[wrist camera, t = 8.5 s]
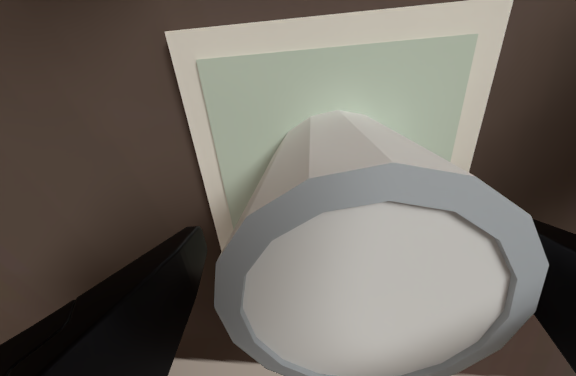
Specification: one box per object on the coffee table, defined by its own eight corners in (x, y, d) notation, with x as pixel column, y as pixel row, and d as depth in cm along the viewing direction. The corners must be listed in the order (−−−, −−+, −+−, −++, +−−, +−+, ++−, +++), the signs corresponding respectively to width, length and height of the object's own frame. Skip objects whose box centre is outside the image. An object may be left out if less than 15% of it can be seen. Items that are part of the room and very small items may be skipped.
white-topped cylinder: (448, 131, 11) (649, 247, 5) (366, 251, 14) (418, 417, 8) (289, 65, 10) (269, 97, 4) (240, 210, 13) (183, 359, 7)
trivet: (502, -2, 9) (519, -6, 9) (439, 258, 15) (446, 269, 14) (171, 32, 10) (162, 31, 9) (229, 265, 16) (226, 275, 15)
